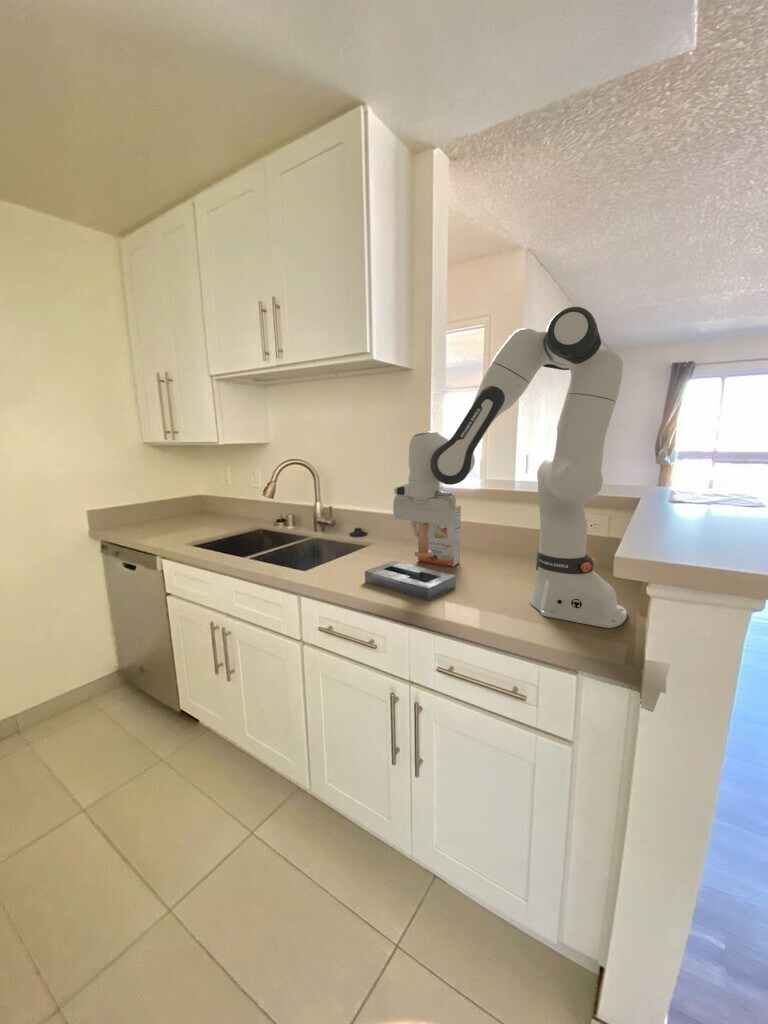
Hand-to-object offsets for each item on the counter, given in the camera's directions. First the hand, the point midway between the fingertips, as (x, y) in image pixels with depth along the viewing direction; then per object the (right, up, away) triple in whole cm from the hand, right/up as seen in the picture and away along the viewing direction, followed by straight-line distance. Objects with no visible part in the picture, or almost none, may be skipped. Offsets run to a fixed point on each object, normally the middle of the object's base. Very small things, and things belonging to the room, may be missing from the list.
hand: (423, 537), depth 120 cm
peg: (0, -5, +1) cm, 5 cm away
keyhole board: (-4, -15, +6) cm, 16 cm away
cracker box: (+8, -11, +28) cm, 31 cm away
